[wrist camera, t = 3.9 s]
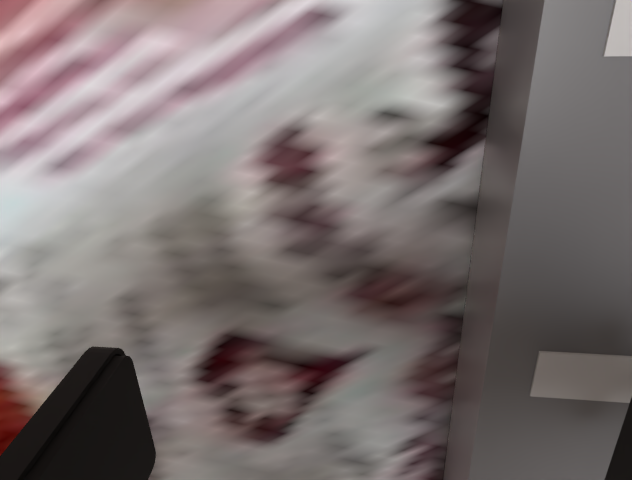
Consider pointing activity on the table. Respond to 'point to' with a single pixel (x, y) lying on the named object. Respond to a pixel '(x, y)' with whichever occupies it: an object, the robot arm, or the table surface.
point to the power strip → (550, 252)
